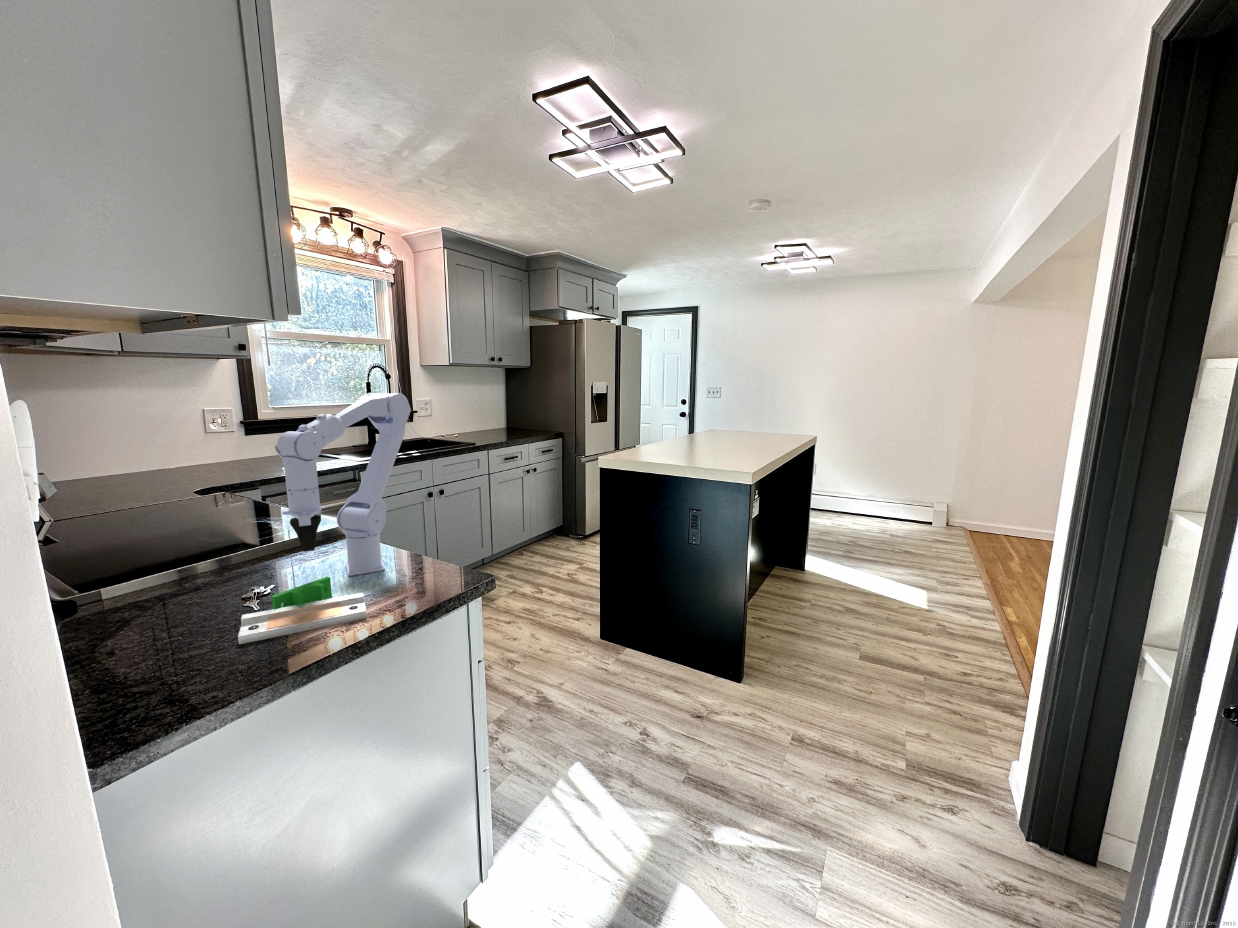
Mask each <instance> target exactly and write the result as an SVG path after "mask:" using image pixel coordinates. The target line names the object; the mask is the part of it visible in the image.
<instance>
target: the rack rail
mask: <svg viewBox="0 0 1238 928" xmlns="http://www.w3.org/2000/svg"><path fill="white" fill-rule="evenodd" d="M364 599H365V597H364V593H363V592H359V593H354V594H349V595H343V596H342V595H341V596H337V597H330V598H327V599H326V600H320V601H315V602H310V603H304V604H299V605H294V606H288V607H283V608H277V609H273V608H272V609H267V610H262V611H255V612H252V613H245V614H241V618H240V622H241V625H240V628H239V632H238V636H237V638H238V639H237V640H238V641H237V642H238V645H243V644H247V643H248V644H249V643H253V642H257V641H258V642H259V641H262V640H267V639H273V638H277V637H283V636H287V635H291V634H296V633H301V632H304V631H310V630H316V629H319V628H326V627H329V626H335V625H339V624H343V623H349V622H352V621H353V622H354V621H358V619H359V620H362V619H366V618H367V610H366V604H365V600H364Z"/></svg>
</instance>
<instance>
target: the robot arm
mask: <svg viewBox="0 0 1238 928" xmlns="http://www.w3.org/2000/svg"><path fill="white" fill-rule="evenodd" d="M411 410H412V409H411V406H410V403H409V400H408V398H407V397H406V395H404V394H403V393H401V392H396V393H381V392H380V393H377V392H368V393H366V394H365V395H362V396H360V397H359V399H358V400H357V401H355V402H354V403H352V404H350V405H349V406H347V407H346V408H344V409H343V410H341V411H340V412H338V413H336V414H335V415H334V414H330V413H327V414H324V413H319V414H318V415H316V417H315V418H316V419H314V420H313V421H311V422H309V423H307V424H301V425H299V426H298V429H297V430H296V431H291V430H290V431H285V432H283V433H282V434H281V435H280V436H279V438H278V439H277V441H276V445H274V450H275V452H276V454H277V455H278V456H279V457H280V458H281V464H282V465H283V468H284V469H283V470H284V475H285V476H284V477H285V485H286V497H287V504H288V508H287V509H283V510H282V511H281V514H282V515H287V516H291V517H292V518H290V520H289V525H290V526H291V528H292V530H294V532H295V533H296V535H297V538H298V542H299V544H300V547H301V549H302V552H312V551H315V549H316V542H317V541H316V540H317V533H318V529H319V526H320V524H321V521H322V514H320V512H322V509H323V508H322V506H321V499H320V490H319V489H320V488H319V479H318V469H317V466H318V465H317V458H318V457H319V456H320V454H321V452H322V450H323V448H325V447H327V446H328V445H330V444H331V443H333V442H335V441H336V440H338V439H340V438H341V437H342V436H343V435H344V434H345V429H346V428H349V427H350V426H352V425H354V424H355V423H358V422H360V421H362V420H364V419H365V418H368V420H369V421H370V422H371V424H372V425H373V427H374V428H375V429H377V430H378V433H379V435H378V437H377V441H376V442H375V445H374V448H373V450H372V453H371V456H370V458H369V461H368V464H367V466H366V469H365V471H364V474H363V476H362V479H361V482H360V485H359V488H358V490H357V492H355V493H353V494H351V495H350V496H349V497H347V498H346V501H345V503H344V505H343V506H342V507H340V509H339V510H338V513H337V515H336V524H337V526H338V527H339V529H341V530H343V531H342V532H343V535H345V540H346V541H345V542H346V552H347V561H346V562H345V567H346V568H345V569H346V572H347V573H346V574H347V576H348V577H351V576H358V575H359V576H360V575H364V574H368V573H369V574H371V573H375V572H382V571H385V570H386V567H385V564H384V562H383V559H382V554H381V553H382V551H381V538H380V537H381V536H380V534H381V533H382V531H383V529H384V527H385V524H386V522H387V521H386V520H387V514H386V513H387V510H388V507H389V506H388V505H387V504H386V502H385V501H384V500H383V498H382V497H383V495H384V492H385V489H386V486H387V483H388V481H389V478H390V475H391V472H392V470H393V467H394V464H395V461H396V459H397V456H398V453H399V450H400V448H401V446H402V442H403V439H404V437H405V434H406V433H405V432H406V425H407V422H408V420H409V417H410V414H411Z"/></svg>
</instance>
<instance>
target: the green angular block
mask: <svg viewBox="0 0 1238 928" xmlns="http://www.w3.org/2000/svg"><path fill="white" fill-rule="evenodd" d="M331 583H332V581H331V577H330V576H325V577H324V576H323V577H321V578H319V579H316V580H313V581H310V582H307V583H305V584H302V585H299V586H296V587H292V588H290V589H288V590H285V591H282V592H280V593H279V592H278V593H277V594H274V595H271V598H270V599H271V604H272V609H277V608H283V607H288V606H294V605H299V604H304V603H310V602H315V601H320V600H326V599H331V598H333V593H332V584H331Z"/></svg>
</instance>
